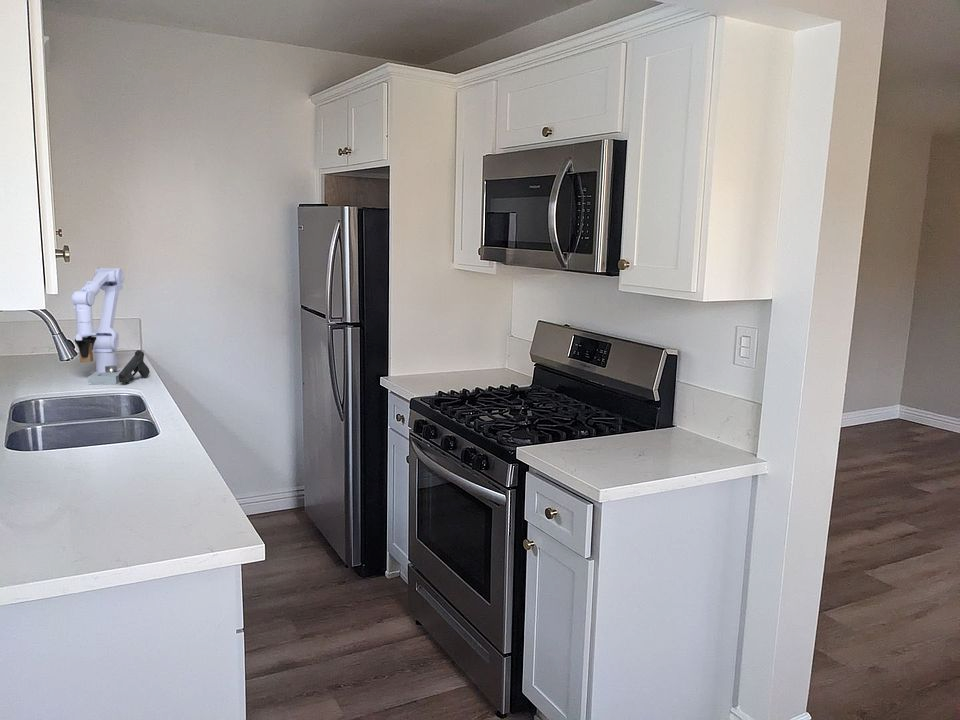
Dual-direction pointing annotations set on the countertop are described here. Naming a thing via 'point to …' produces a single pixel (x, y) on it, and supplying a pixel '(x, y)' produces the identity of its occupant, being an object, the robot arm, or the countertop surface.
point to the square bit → (90, 355)
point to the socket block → (104, 378)
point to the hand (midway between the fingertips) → (86, 356)
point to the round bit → (111, 368)
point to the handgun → (134, 368)
